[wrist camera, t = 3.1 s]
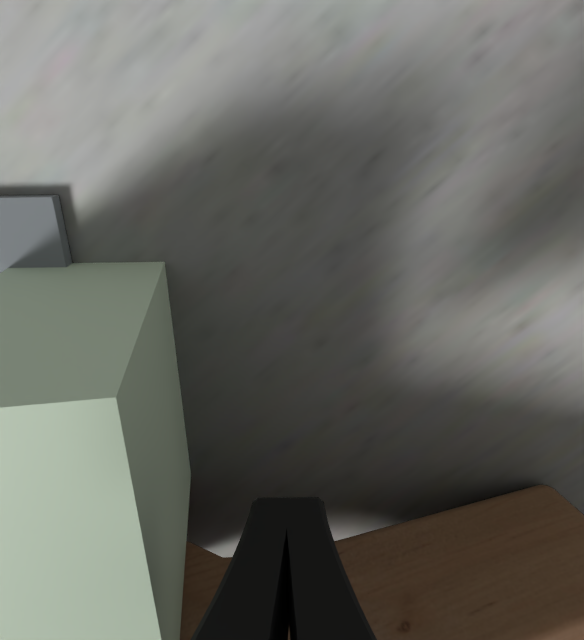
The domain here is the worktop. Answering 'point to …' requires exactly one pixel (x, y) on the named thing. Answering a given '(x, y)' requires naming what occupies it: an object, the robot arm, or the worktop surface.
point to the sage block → (91, 455)
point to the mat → (32, 232)
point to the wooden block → (452, 573)
